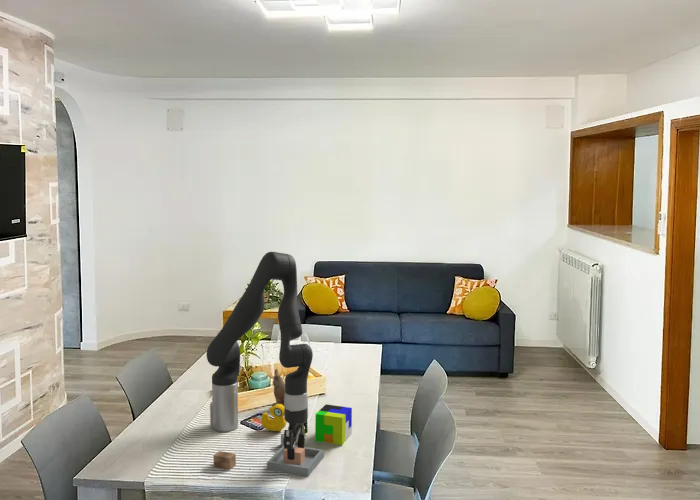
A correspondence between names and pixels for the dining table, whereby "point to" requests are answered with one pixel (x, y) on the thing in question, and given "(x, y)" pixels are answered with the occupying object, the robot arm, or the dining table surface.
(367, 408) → the dining table surface
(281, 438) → the charcoal brick
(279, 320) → the robot arm
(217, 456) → the walnut brick
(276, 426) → the duckling
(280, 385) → the worn brown figurine
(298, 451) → the terracotta brick
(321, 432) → the puzzle toy
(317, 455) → the slate tray
